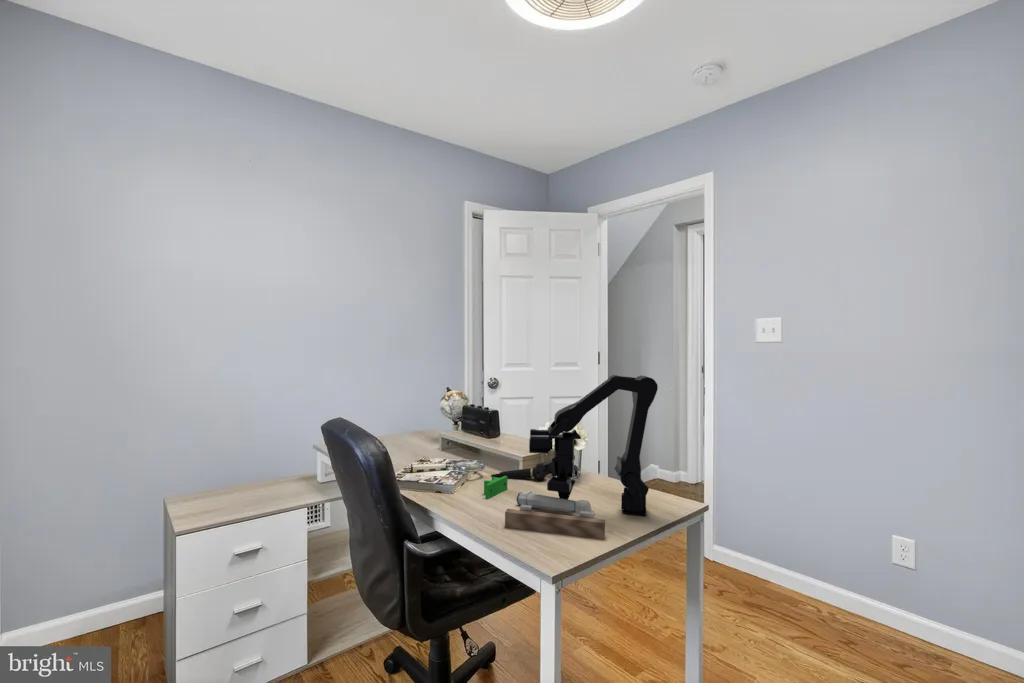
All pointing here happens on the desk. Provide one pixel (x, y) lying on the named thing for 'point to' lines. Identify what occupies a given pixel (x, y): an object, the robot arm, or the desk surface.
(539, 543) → the desk surface
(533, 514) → the rail
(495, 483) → the pipe clamp
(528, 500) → the grey elongated rounded piece
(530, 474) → the microphone
